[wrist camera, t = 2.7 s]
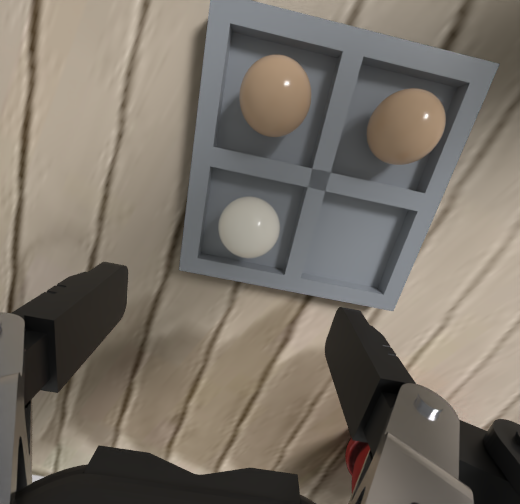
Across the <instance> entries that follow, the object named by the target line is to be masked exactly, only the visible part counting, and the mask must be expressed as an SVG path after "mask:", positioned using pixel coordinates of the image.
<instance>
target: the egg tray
mask: <svg viewBox="0 0 520 504" xmlns="http://www.w3.org/2000/svg"><path fill="white" fill-rule="evenodd" d="M274 54H279V55H285V56H288V57H290V58H292V59H294V60H295V61H296V62H298V63H299V64H300V65H301V66H302V68H303V69H304V70H305V72H306V74H307V76H308V78H309V82H310V86H311V104H310V108H309V111H308V113H307V116H306V117H305V119H304V121H303V122H302V123H301V125H300V126H299V127H298V128H297V129H296V130H294V131H293V132H291V133H290V134H287V135H285V136H281V137H268V136H264V135H262V134H260V133H258V132H256V131H255V130H254V129H253V128H251V127H250V125H249V124H248V123H247V121H246V120H245V118H244V116H243V114H242V111H241V107H240V100H239V94H240V87H241V83H242V80H243V78H244V76H245V74H246V72H247V71H248V69H249V68H250V67H251V66H252V65H253V64H254V63H255V62H256V61H257V60H259V59H261V58H263V57H265V56H268V55H274ZM498 67H499V63H495V62H491V61H487V60H483V59H479V58H475V57H471V56H467V55H463V54H460V53H456V52H452V51H448V50H444V49H440V48H436V47H432V46H428V45H424V44H420V43H416V42H412V41H408V40H405V39H401V38H397V37H393V36H389V35H385V34H381V33H377V32H373V31H369V30H365V29H361V28H357V27H353V26H350V25H346V24H342V23H338V22H334V21H330V20H326V19H322V18H318V17H314V16H310V15H306V14H302V13H298V12H295V11H291V10H287V9H283V8H279V7H275V6H271V5H267V4H263V3H259V2H255V1H251V0H210V8H209V17H208V25H207V34H206V42H205V51H204V59H203V68H202V76H201V85H200V94H199V102H198V111H197V119H196V128H195V136H194V145H193V154H192V162H191V171H190V179H189V188H188V196H187V205H186V214H185V222H184V231H183V239H182V248H181V256H180V265H179V270H181V271H186V272H191V273H196V274H202V275H207V276H212V277H217V278H222V279H228V280H233V281H238V282H243V283H248V284H254V285H259V286H264V287H269V288H275V289H280V290H285V291H290V292H295V293H301V294H306V295H311V296H316V297H321V298H327V299H332V300H337V301H342V302H347V303H353V304H358V305H363V306H368V307H374V308H379V309H384V310H389V311H394V308H395V306H396V304H397V301H398V299H399V297H400V294H401V292H402V290H403V288H404V285H405V283H406V281H407V278H408V276H409V274H410V271H411V269H412V267H413V264H414V262H415V260H416V257H417V255H418V253H419V250H420V248H421V246H422V243H423V241H424V239H425V236H426V234H427V232H428V229H429V227H430V225H431V222H432V220H433V218H434V215H435V213H436V211H437V208H438V206H439V204H440V201H441V199H442V197H443V194H444V192H445V190H446V187H447V185H448V183H449V181H450V178H451V176H452V174H453V171H454V169H455V167H456V164H457V162H458V160H459V157H460V155H461V153H462V150H463V148H464V146H465V143H466V141H467V139H468V136H469V134H470V132H471V129H472V127H473V125H474V122H475V120H476V118H477V115H478V113H479V111H480V108H481V106H482V104H483V101H484V99H485V97H486V94H487V92H488V90H489V87H490V85H491V83H492V80H493V78H494V76H495V74H496V71H497V69H498ZM409 88H419V89H424V90H427V91H429V92H431V93H433V94H434V95H435V96H436V97H437V98H438V99H439V100H440V101H441V103H442V105H443V107H444V110H445V115H446V123H445V129H444V132H443V135H442V137H441V139H440V141H439V142H438V144H437V145H436V146H435V148H434V149H433V150H432V151H431V152H430V153H428V154H427V155H426V156H424V157H423V158H421V159H420V160H418V161H415V162H413V163H409V164H405V165H392V164H388V163H385V162H383V161H381V160H380V159H378V158H377V157H376V156H375V155H374V154H373V153H372V151H371V150H370V148H369V145H368V142H367V126H368V122H369V119H370V117H371V115H372V113H373V112H374V110H375V109H376V107H377V106H378V105H379V104H380V103H381V102H382V101H383V100H384V99H385V98H387V97H388V96H390V95H391V94H393V93H395V92H398V91H400V90H404V89H409ZM247 196H252V197H257V198H260V199H262V200H264V201H266V202H267V203H269V204H270V205H271V206H272V207H273V209H274V210H275V212H276V213H277V215H278V218H279V222H280V233H279V237H278V240H277V242H276V243H275V245H274V246H273V248H272V249H271V250H270V251H269V252H267V253H266V254H264V255H262V256H259V257H256V258H242V257H239V256H236V255H234V254H233V253H231V252H230V251H229V250H228V249H227V248H226V247H225V246H224V244H223V243H222V241H221V239H220V236H219V231H218V224H219V219H220V216H221V214H222V212H223V210H224V209H225V207H226V206H227V205H228V204H230V203H231V202H232V201H234V200H236V199H238V198H241V197H247Z"/></svg>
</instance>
